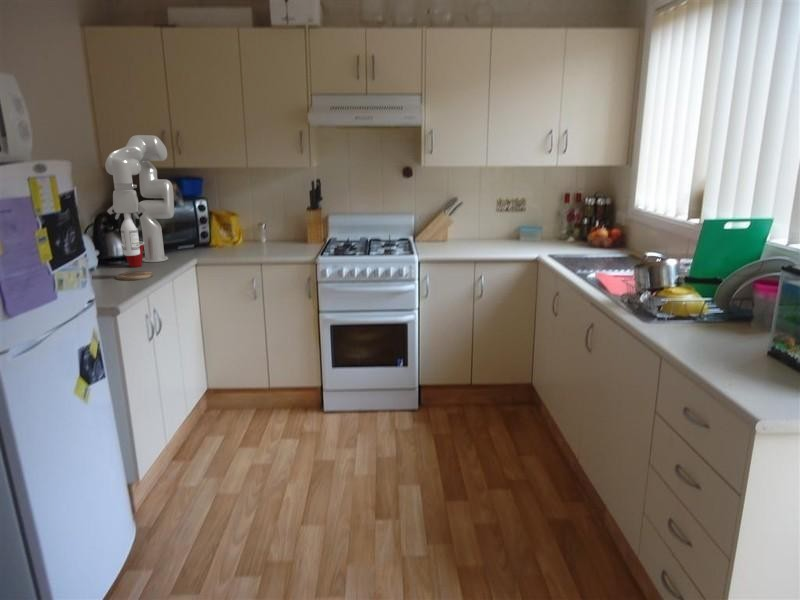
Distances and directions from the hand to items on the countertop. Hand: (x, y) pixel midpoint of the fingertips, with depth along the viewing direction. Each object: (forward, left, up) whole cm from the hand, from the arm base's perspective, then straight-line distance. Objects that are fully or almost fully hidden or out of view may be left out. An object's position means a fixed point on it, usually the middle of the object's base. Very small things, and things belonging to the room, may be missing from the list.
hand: (128, 227), depth 250 cm
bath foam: (0, 0, -13) cm, 13 cm away
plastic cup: (-25, -3, -23) cm, 35 cm away
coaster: (0, 0, -23) cm, 23 cm away
